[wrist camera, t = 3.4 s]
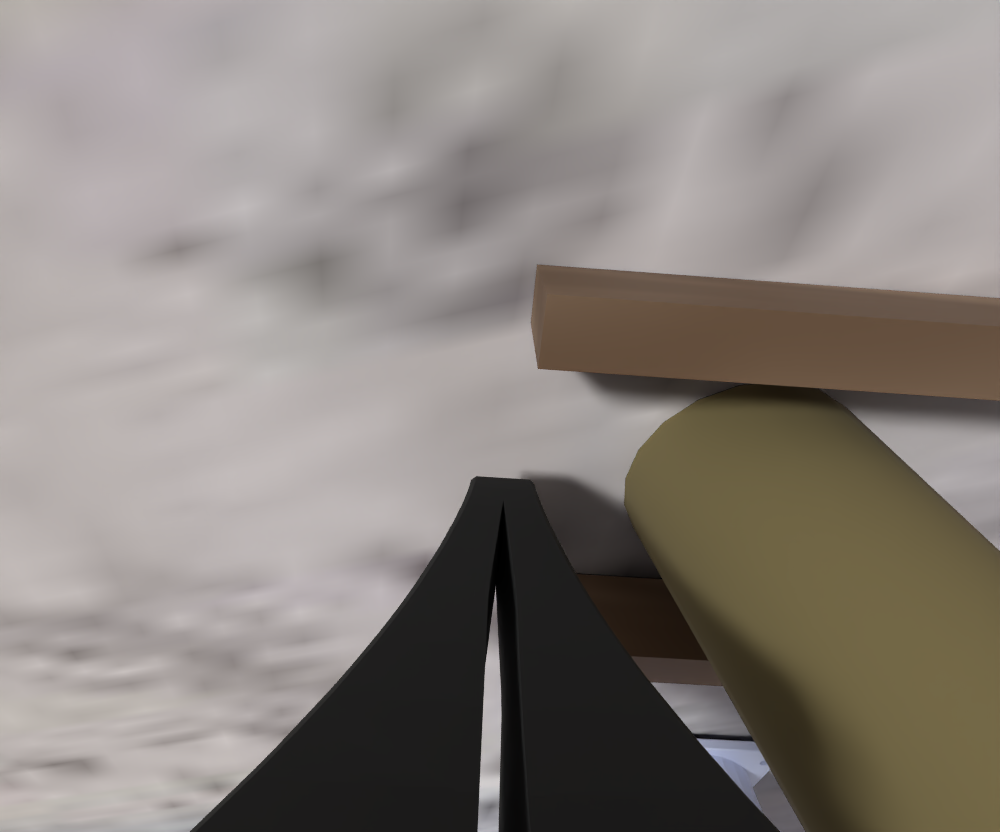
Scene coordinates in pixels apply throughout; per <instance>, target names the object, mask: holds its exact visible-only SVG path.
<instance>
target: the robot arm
mask: <svg viewBox="0 0 1000 832" xmlns="http://www.w3.org/2000/svg"><path fill="white" fill-rule="evenodd" d="M495 587H496V598H497V618H498V638H499V657H500V676H501V706H502V723H501V763H500V801H499V832H780V831H779V830H778V829H777V828H776V827H775V826H774V825H773V824H772V823H771V822H770V821H769V819H768V818H767V817H766V816H765V815H764V814H763V812H762V809H761V807H760V804H759V802H758V799H757V797H756V794H755V792H754V789H753V787H754V786H755V784H756V783H757V782H758V781H759V780H760V779H761V778H762V777H763V776H764V775H765V774H766V773H767V772H768V771H769V770H770V768H769V766H768V765H767V763H766V761H765V759H764V757H763V756H762V754H761V752H760V750H759V749H758V747H757V745H756V743H755V742H754V741H736V740H718V739H700V738H696V737H695V736H694V735H693V734H692V732H691V731H690V730H689V729H688V728H687V726H686V725H685V724H684V723H683V721H682V720H681V719H680V718H679V717H678V715H677V714H676V713H675V712H674V710H673V709H672V708H671V707H670V706H669V704H668V703H667V702H666V701H665V700H664V698H663V697H662V696H661V695H660V693H659V692H658V691H657V690H656V689H655V687H654V686H653V685H652V684H651V682H650V681H649V680H648V679H647V677H646V676H645V675H644V673H643V672H642V671H641V669H640V668H639V667H638V665H637V664H636V663H635V661H634V660H633V658H632V657H631V656H630V654H629V653H628V652H627V650H626V649H625V648H624V646H623V645H622V644H621V642H620V641H619V639H618V638H617V636H616V635H615V634H614V632H613V631H612V629H611V628H610V626H609V625H608V624H607V622H606V621H605V619H604V618H603V616H602V615H601V613H600V612H599V610H598V608H597V607H596V605H595V604H594V602H593V601H592V599H591V598H590V596H589V594H588V593H587V591H586V589H585V588H584V586H583V584H582V583H581V581H580V579H579V578H578V576H577V574H576V573H575V571H574V569H573V567H572V566H571V564H570V562H569V560H568V558H567V556H566V555H565V553H564V551H563V549H562V547H561V545H560V543H559V541H558V539H557V537H556V536H555V533H554V531H553V529H552V527H551V525H550V523H549V521H548V519H547V516H546V514H545V512H544V510H543V507H542V505H541V502H540V500H539V497H538V494H537V492H536V489H535V485H534V483H533V482H532V481H531V480H526V479H510V478H494V477H478V476H476V477H475V478H473V479H472V480H471V483H470V486H469V489H468V492H467V494H466V497H465V499H464V502H463V504H462V506H461V508H460V510H459V512H458V514H457V516H456V518H455V520H454V522H453V524H452V525H451V527H450V529H449V531H448V533H447V534H446V536H445V538H444V540H443V541H442V543H441V545H440V547H439V548H438V550H437V552H436V553H435V555H434V556H433V558H432V559H431V561H430V562H429V564H428V565H427V567H426V568H425V570H424V572H423V573H422V575H421V576H420V578H419V579H418V581H417V582H416V584H415V585H414V587H413V588H412V589H411V591H410V592H409V594H408V595H407V596H406V598H405V599H404V601H403V602H402V603H401V605H400V606H399V607H398V609H397V610H396V611H395V613H394V614H393V615H392V616H391V618H390V619H389V620H388V622H387V623H386V624H385V626H384V627H383V628H382V629H381V631H380V632H379V633H378V634H377V636H376V637H375V638H374V639H373V640H372V642H371V643H370V644H369V645H368V646H367V648H366V649H365V650H364V651H363V652H362V654H361V655H360V656H359V657H358V658H357V660H356V661H355V662H354V663H353V664H352V666H351V667H350V668H349V669H348V670H347V671H346V673H345V674H344V675H343V676H342V677H341V678H340V679H339V681H338V682H337V683H336V684H335V685H334V686H333V687H332V688H331V690H330V691H329V692H328V693H327V694H326V695H325V696H324V697H323V698H322V699H321V700H320V701H319V702H318V703H317V704H316V705H315V707H314V708H313V709H312V710H311V711H310V712H309V713H308V714H307V715H306V716H305V717H304V718H303V719H302V720H301V721H300V722H299V724H298V725H297V726H296V727H295V728H294V729H293V730H292V731H291V732H290V733H289V734H288V735H287V736H286V737H285V738H284V739H283V741H282V742H281V743H280V744H279V745H278V746H277V747H276V748H275V749H274V750H273V751H272V752H271V753H270V754H269V755H268V756H267V757H266V758H265V759H264V760H263V761H262V762H261V763H260V764H259V765H258V766H257V767H256V768H255V769H254V770H253V771H252V772H251V773H250V774H249V775H248V776H247V777H246V778H245V779H244V780H243V781H242V782H241V783H240V784H239V785H238V786H237V787H236V788H235V789H234V790H232V791H231V792H230V793H229V794H228V795H227V796H226V797H225V798H224V799H223V800H222V801H221V802H220V803H219V804H218V805H217V806H216V807H215V808H214V809H213V810H212V811H211V812H210V813H209V814H208V815H207V816H206V817H205V818H203V819H202V820H201V821H200V822H199V823H198V824H197V825H196V826H195V827H194V828H193V829H192V830H191V831H190V832H477V829H478V806H479V783H480V761H481V739H482V717H483V696H484V674H485V662H486V655H487V647H488V640H489V632H490V625H491V617H492V610H493V602H494V595H495Z"/></svg>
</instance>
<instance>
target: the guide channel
mask: <svg viewBox="0 0 1000 832" xmlns="http://www.w3.org/2000/svg"><path fill="white" fill-rule="evenodd" d="M531 327H532V333H533V340H534V346H535V353H536V359H537V366H538V369H548V370H562V371H577V372H591V373H606V374H620V375H635V376H649V377H664V378H678V379H693V380H707V381H722V382H736V383H751V384H766V385H780V386H795V387H809V388H824V389H838V390H853V391H867V392H882V393H896V394H911V395H925V396H940V397H954V398H969V399H983V400H998V401H1000V298H988V297H975V296H961V295H947V294H933V293H920V292H906V291H892V290H878V289H865V288H851V287H837V286H823V285H810V284H796V283H782V282H768V281H755V280H741V279H727V278H714V277H700V276H686V275H672V274H659V273H645V272H631V271H617V270H604V269H590V268H576V267H562V266H549V265H537V270H536V280H535V289H534V299H533V308H532V317H531ZM577 576H578V578H579V579H580V581H581V583H582V584H583V586H584V588H585V589H586V591H587V593H588V594H589V596H590V598H591V599H592V601H593V602H594V604H595V605H596V607H597V608H598V610H599V612H600V613H601V615H602V616H603V618H604V619H605V621H606V622H607V624H608V625H609V626H610V628H611V629H612V631H613V632H614V634H615V635H616V636H617V638H618V639H619V641H620V642H621V644H622V645H623V646H624V648H625V649H626V650H627V652H628V653H629V654H630V656H631V657H632V658H633V660H634V661H635V663H636V664H637V665H638V667H639V668H640V669H641V671H642V672H643V673H644V675H645V676H646V677H647V679H648V680H649V681H650V682H659V683H677V684H694V685H711V686H723V685H722V683H721V682H720V680H719V678H718V676H717V674H716V673H715V671H714V669H713V667H712V666H711V664H710V662H709V660H708V659H707V657H706V655H705V653H704V652H703V650H702V648H701V646H700V644H699V643H698V641H697V639H696V637H695V636H694V634H693V632H692V630H691V629H690V627H689V625H688V623H687V622H686V620H685V618H684V616H683V614H682V613H681V611H680V609H679V607H678V606H677V604H676V602H675V600H674V599H673V597H672V595H671V593H670V592H669V590H668V588H667V586H666V584H665V583H664V581H663V579H649V578H632V577H616V576H600V575H584V574H577Z"/></svg>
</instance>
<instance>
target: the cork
mask: <svg viewBox="0 0 1000 832" xmlns="http://www.w3.org/2000/svg"><path fill="white" fill-rule="evenodd" d="M624 506H625V508H626V511H627V513H628V516H629V518H630V521H631V523H632V526H633V528H634V530H635V531H636V533H637V535H638V537H639V539H640V540H641V542H642V544H643V546H644V547H645V549H646V551H647V553H648V554H649V556H650V558H651V560H652V561H653V563H654V565H655V567H656V569H657V570H658V572H659V574H660V576H661V577H662V579H663V581H664V583H665V584H666V586H667V588H668V590H669V592H670V593H671V595H672V597H673V599H674V600H675V602H676V604H677V606H678V607H679V609H680V611H681V613H682V614H683V616H684V618H685V620H686V622H687V623H688V625H689V627H690V629H691V630H692V632H693V634H694V636H695V637H696V639H697V641H698V643H699V644H700V646H701V648H702V650H703V652H704V653H705V655H706V657H707V659H708V660H709V662H710V664H711V666H712V667H713V669H714V671H715V673H716V674H717V676H718V678H719V680H720V682H721V683H722V685H723V687H724V689H725V690H726V692H727V694H728V696H729V697H730V699H731V701H732V703H733V705H734V706H735V708H736V710H737V712H738V713H739V715H740V717H741V719H742V720H743V722H744V724H745V726H746V727H747V729H748V731H749V733H750V735H751V736H752V738H753V740H754V742H755V743H756V745H757V747H758V749H759V750H760V752H761V754H762V756H763V757H764V759H765V761H766V763H767V765H768V766H769V768H770V770H771V772H772V773H773V775H774V777H775V779H776V780H777V782H778V784H779V786H780V787H781V789H782V791H783V793H784V795H785V796H786V798H787V800H788V802H789V803H790V805H791V807H792V809H793V810H794V812H795V814H796V816H797V818H798V819H799V821H800V823H801V825H802V826H803V828H804V830H805V832H1000V551H999V550H998V549H997V548H996V547H995V546H994V545H993V544H992V543H990V542H989V541H988V540H987V539H986V538H985V537H984V536H983V535H982V534H981V533H980V532H979V531H978V530H977V529H975V528H974V527H973V526H972V525H971V524H970V523H969V522H968V521H967V520H966V519H965V518H964V517H963V516H962V515H961V514H959V513H958V512H957V511H956V510H955V509H954V508H953V507H952V506H951V505H950V504H949V503H948V502H947V501H946V500H945V499H943V498H942V497H941V496H940V495H939V494H938V493H937V492H936V491H935V490H934V489H933V488H932V487H931V486H930V485H928V484H927V483H926V482H925V481H924V480H923V479H922V478H921V477H920V476H919V475H918V474H917V473H916V472H915V471H914V470H912V469H911V468H910V467H909V466H908V465H907V464H906V463H905V462H904V461H903V460H902V459H901V458H900V457H899V456H898V455H896V454H895V453H894V452H893V451H892V450H891V449H890V448H889V447H888V446H887V445H886V444H885V443H884V442H883V441H881V440H880V439H879V438H878V437H877V436H876V435H875V434H874V433H873V432H872V431H871V430H870V429H869V428H868V427H867V426H865V425H864V424H863V423H862V422H861V421H860V420H859V419H858V418H857V417H856V416H855V415H854V414H853V413H852V412H851V411H849V410H848V409H847V408H846V407H845V406H843V405H842V404H840V403H839V402H837V401H836V400H834V399H833V398H831V397H830V396H828V395H827V394H825V393H824V392H822V391H821V390H819V389H815V388H809V387H795V386H780V385H766V384H750V385H739V386H737V387H734V388H731V389H728V390H725V391H722V392H720V393H717V394H714V395H711V396H708V397H705V398H702V399H700V400H697V401H696V402H694V403H693V404H691V405H690V406H688V407H687V408H685V409H684V410H682V411H681V412H679V413H677V414H676V415H674V416H673V417H671V418H670V419H668V420H667V421H665V422H664V423H663V424H662V425H661V426H660V427H659V428H658V429H657V430H656V431H655V432H654V434H653V435H652V436H651V437H650V438H649V439H648V440H647V441H646V442H645V443H644V445H643V446H642V447H641V448H640V449H639V450H638V452H637V455H636V457H635V459H634V461H633V463H632V465H631V468H630V470H629V472H628V474H627V476H626V480H625V498H624Z"/></svg>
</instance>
